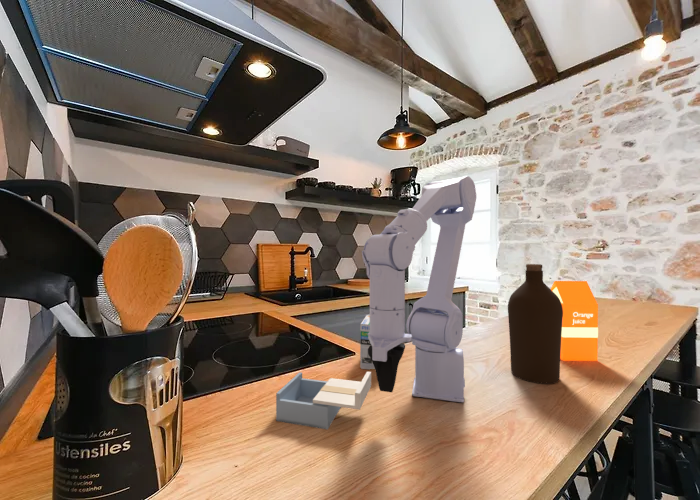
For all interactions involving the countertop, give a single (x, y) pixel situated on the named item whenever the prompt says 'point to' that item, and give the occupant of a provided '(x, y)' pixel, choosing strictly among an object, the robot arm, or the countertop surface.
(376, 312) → the robot arm
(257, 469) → the countertop surface
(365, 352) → the light bulb box
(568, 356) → the orange juice
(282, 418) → the blue grey box
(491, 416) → the countertop surface
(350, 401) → the lid
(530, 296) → the olive oil
